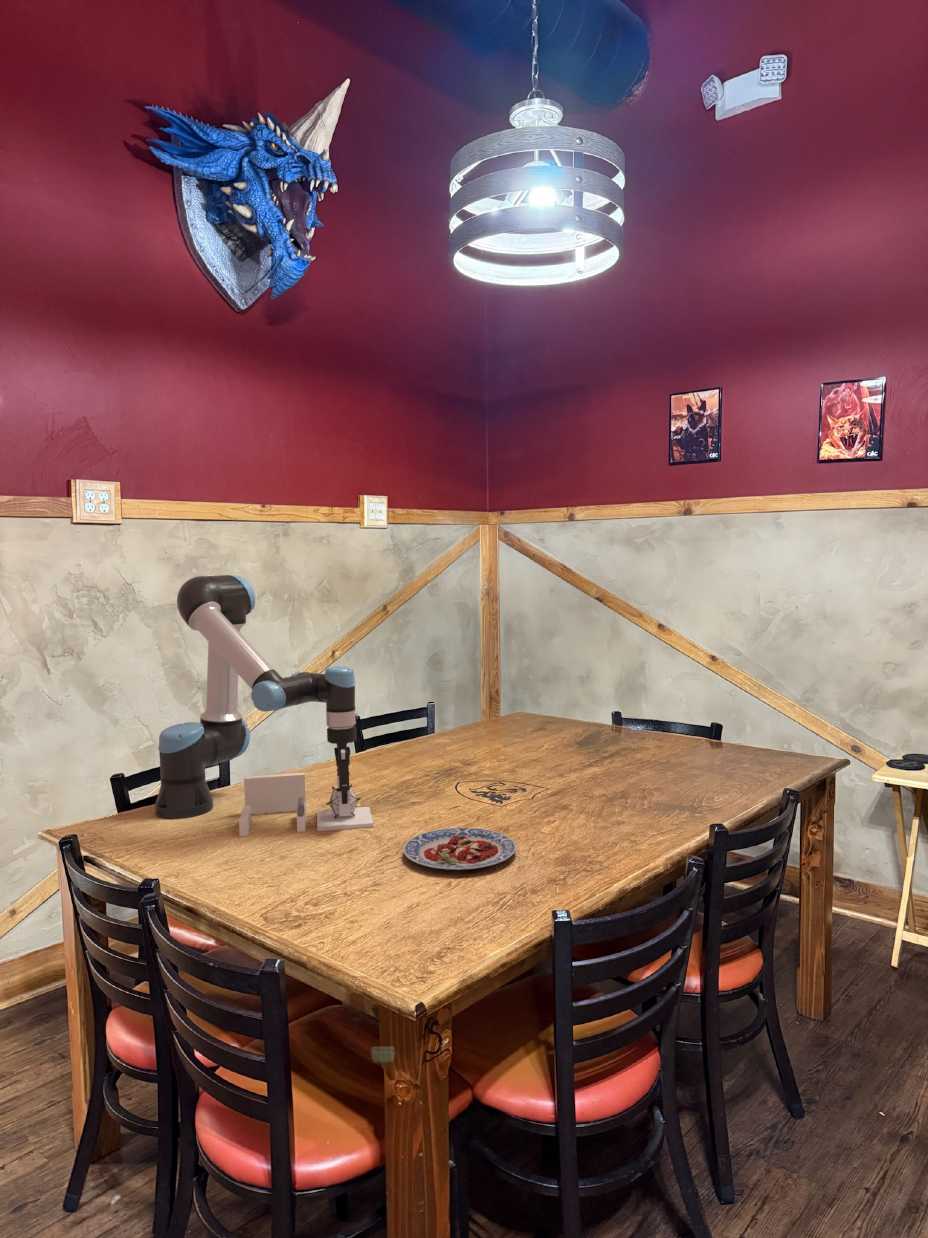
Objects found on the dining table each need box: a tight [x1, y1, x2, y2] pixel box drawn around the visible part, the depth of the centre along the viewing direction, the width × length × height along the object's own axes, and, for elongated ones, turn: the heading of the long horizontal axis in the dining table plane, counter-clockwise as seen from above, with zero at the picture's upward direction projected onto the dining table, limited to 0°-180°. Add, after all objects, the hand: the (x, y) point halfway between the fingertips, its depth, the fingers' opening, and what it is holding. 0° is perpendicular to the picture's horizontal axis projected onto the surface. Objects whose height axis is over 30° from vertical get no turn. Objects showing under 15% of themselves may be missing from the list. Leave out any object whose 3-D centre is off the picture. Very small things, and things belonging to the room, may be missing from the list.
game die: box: [326, 783, 362, 819], centre depth 207 cm, size 9×8×10 cm
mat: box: [316, 806, 374, 832], centre depth 206 cm, size 14×14×1 cm
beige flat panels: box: [238, 772, 307, 837], centre depth 206 cm, size 16×19×10 cm
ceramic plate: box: [402, 827, 517, 871], centre depth 181 cm, size 26×26×3 cm
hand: (344, 808), depth 206 cm, fingers open, 12 cm apart
